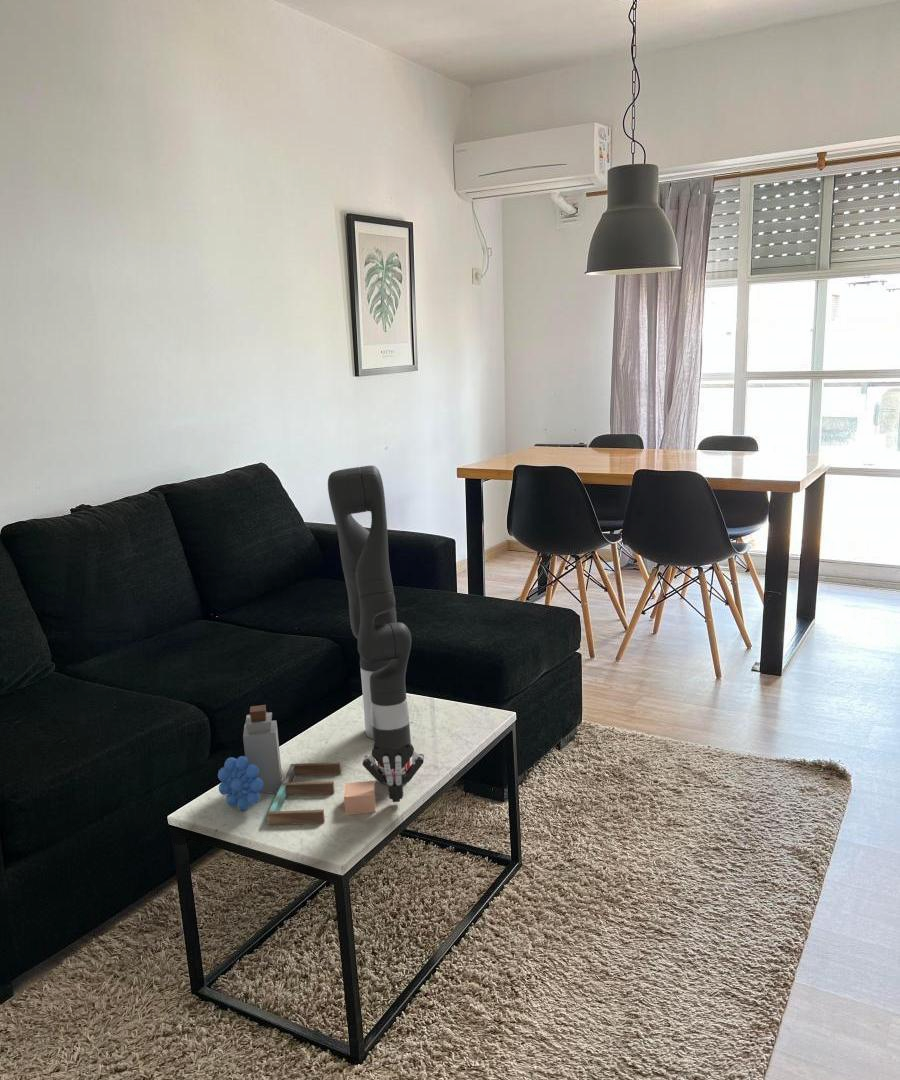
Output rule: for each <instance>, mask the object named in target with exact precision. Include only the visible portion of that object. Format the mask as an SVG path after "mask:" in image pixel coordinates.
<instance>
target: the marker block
mask: <svg viewBox="0 0 900 1080" xmlns="http://www.w3.org/2000/svg"><path fill="white" fill-rule="evenodd" d="M375 783H376V782H375V780H369V781H356V782H346V783H344V793H343V801H344V802H343V803H344V814H345V815H357V814H367V813H368V812H370V813H375V812H376V804H375V801H376V800H377V799H376V797H377V796H376V795H377V794H376V786H375ZM368 814H369V813H368Z"/></svg>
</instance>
